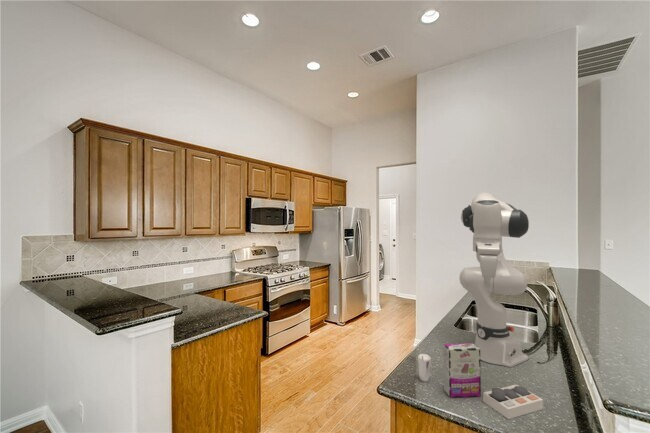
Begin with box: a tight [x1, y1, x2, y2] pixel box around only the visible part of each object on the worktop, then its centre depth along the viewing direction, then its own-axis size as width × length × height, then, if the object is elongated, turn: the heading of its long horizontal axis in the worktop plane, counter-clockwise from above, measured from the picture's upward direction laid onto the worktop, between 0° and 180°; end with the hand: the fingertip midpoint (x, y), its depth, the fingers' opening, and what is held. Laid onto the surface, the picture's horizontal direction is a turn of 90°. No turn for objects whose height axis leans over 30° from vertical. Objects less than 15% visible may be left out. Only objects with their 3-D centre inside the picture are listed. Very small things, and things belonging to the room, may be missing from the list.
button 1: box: [491, 387, 505, 402], centre depth 95 cm, size 4×4×3 cm
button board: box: [482, 384, 544, 420], centre depth 95 cm, size 15×9×3 cm, turn 109°
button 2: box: [514, 385, 529, 396], centre depth 98 cm, size 4×4×3 cm
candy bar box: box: [442, 342, 482, 399], centre depth 102 cm, size 11×5×16 cm, turn 94°
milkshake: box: [417, 353, 432, 382], centre depth 110 cm, size 4×5×10 cm
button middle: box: [504, 389, 517, 399], centre depth 96 cm, size 4×4×3 cm
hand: (486, 286), depth 101 cm, fingers closed
